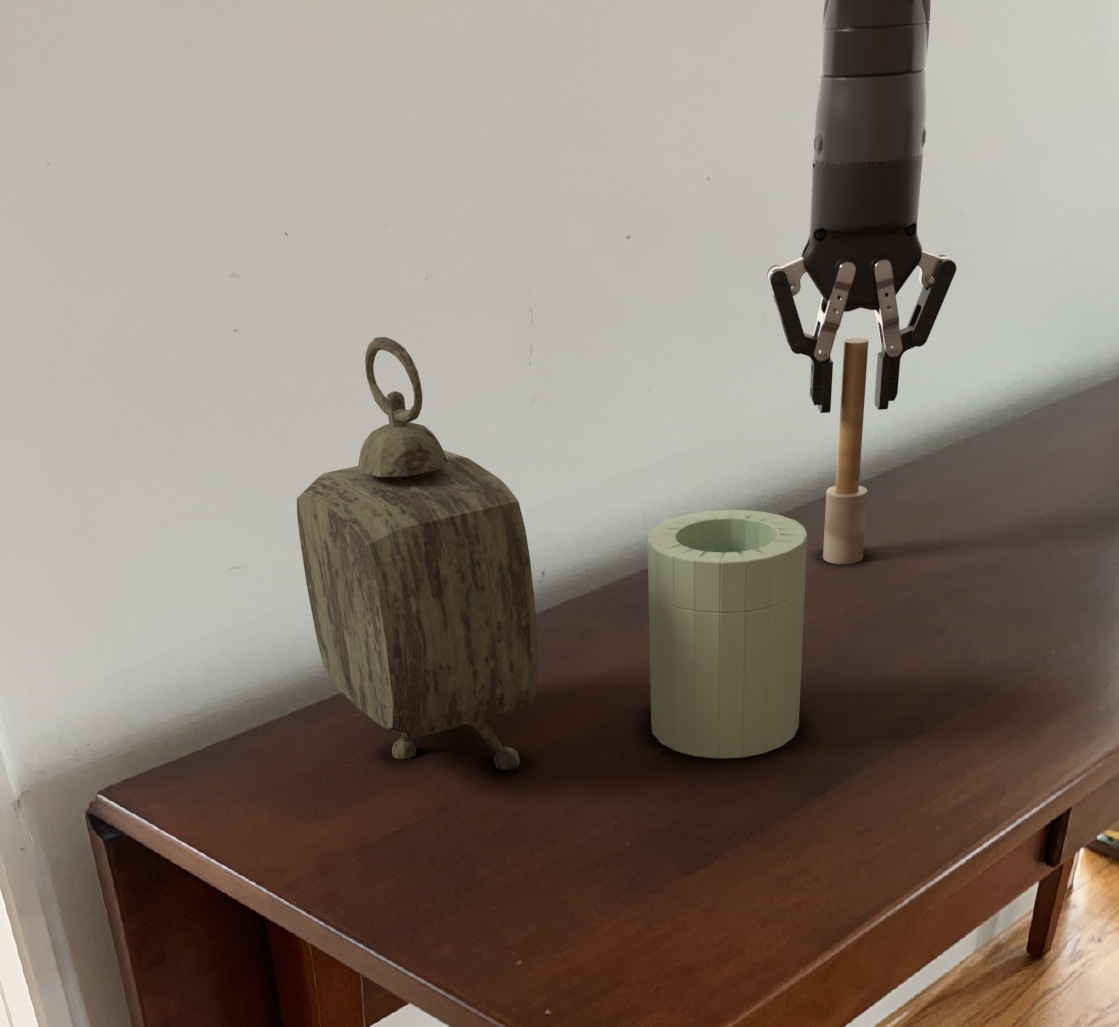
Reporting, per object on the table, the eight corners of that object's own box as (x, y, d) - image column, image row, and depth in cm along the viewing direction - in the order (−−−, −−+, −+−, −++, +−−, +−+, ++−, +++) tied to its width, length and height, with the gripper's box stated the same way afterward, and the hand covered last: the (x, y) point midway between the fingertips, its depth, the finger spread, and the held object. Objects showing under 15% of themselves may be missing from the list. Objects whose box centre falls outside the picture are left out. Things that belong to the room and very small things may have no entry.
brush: (859, 556, 117) (874, 334, 107) (865, 570, 115) (881, 343, 105) (820, 558, 118) (831, 336, 108) (825, 572, 115) (837, 346, 105)
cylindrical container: (788, 699, 96) (796, 505, 88) (806, 763, 89) (816, 557, 81) (649, 706, 97) (645, 513, 89) (654, 770, 89) (651, 565, 81)
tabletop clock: (547, 776, 89) (517, 347, 74) (416, 818, 86) (357, 377, 71) (446, 698, 99) (402, 308, 85) (326, 732, 96) (258, 332, 81)
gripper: (959, 137, 102) (935, 391, 112) (760, 150, 102) (754, 401, 112) (983, 149, 96) (955, 416, 106) (771, 162, 96) (764, 427, 106)
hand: (852, 407), depth 109 cm, fingers open, 3 cm apart
